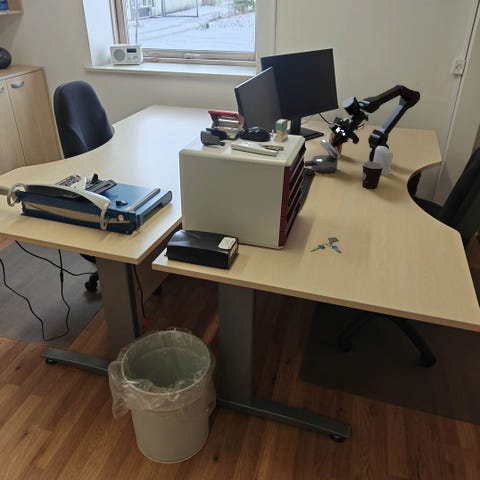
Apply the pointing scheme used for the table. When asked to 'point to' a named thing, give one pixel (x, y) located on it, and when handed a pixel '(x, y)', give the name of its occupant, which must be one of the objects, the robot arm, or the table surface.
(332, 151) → the cooker lid
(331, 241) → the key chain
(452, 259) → the table surface
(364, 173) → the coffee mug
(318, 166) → the pressure cooker pot
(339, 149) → the soda can
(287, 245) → the table surface
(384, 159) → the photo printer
